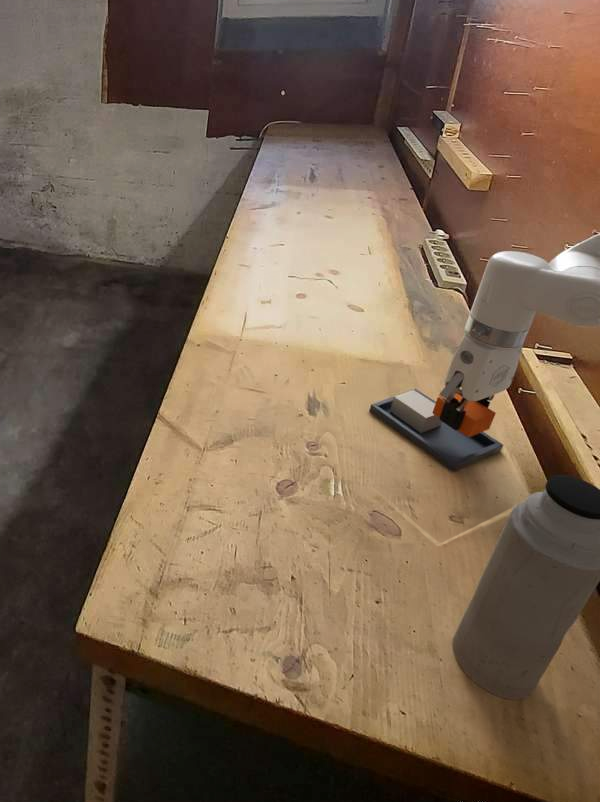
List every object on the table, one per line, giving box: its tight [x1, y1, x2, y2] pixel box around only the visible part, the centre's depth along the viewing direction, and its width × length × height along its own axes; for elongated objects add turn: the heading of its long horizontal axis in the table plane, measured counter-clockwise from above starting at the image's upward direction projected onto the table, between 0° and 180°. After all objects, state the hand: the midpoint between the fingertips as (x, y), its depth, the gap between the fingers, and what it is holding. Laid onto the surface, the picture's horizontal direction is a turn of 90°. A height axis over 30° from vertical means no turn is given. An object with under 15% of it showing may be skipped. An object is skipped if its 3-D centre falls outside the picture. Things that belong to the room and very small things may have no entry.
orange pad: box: [432, 393, 497, 437], centre depth 94 cm, size 5×6×4 cm
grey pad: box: [390, 389, 442, 433], centre depth 103 cm, size 5×6×4 cm
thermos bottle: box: [451, 474, 600, 701], centre depth 60 cm, size 8×8×28 cm
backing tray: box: [369, 388, 504, 473], centre depth 101 cm, size 12×17×2 cm
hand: (461, 419), depth 95 cm, fingers closed on orange pad, 5 cm apart
